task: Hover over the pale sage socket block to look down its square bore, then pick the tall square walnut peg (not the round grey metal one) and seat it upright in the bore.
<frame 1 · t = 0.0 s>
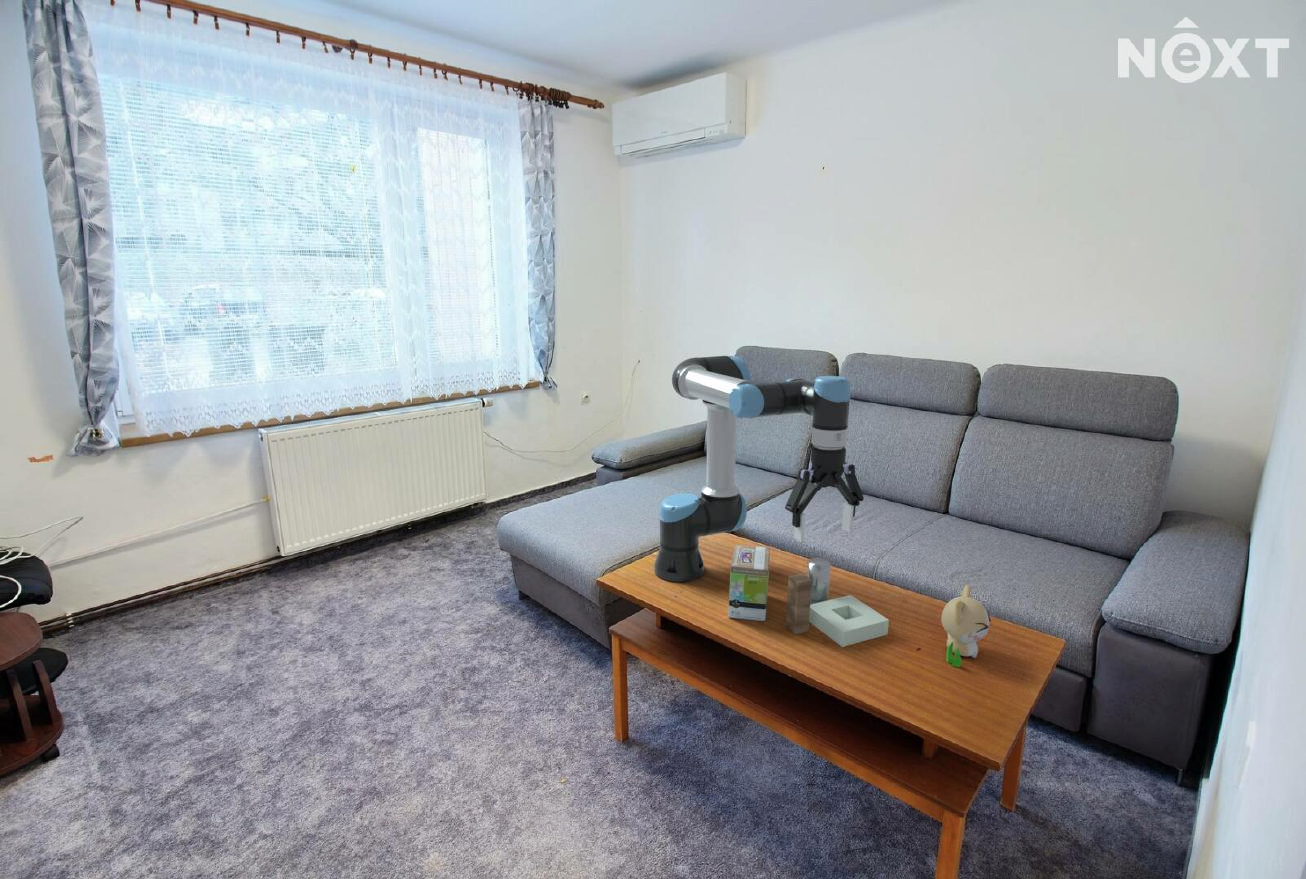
hand: (823, 535, 142), 28 cm above the table, fingers open, 13 cm apart
round peg: (816, 602, 168), on the table
socket block: (846, 626, 156), on the table
square peg: (797, 629, 155), on the table
kitten: (960, 653, 145), on the table
tea box: (748, 606, 167), on the table
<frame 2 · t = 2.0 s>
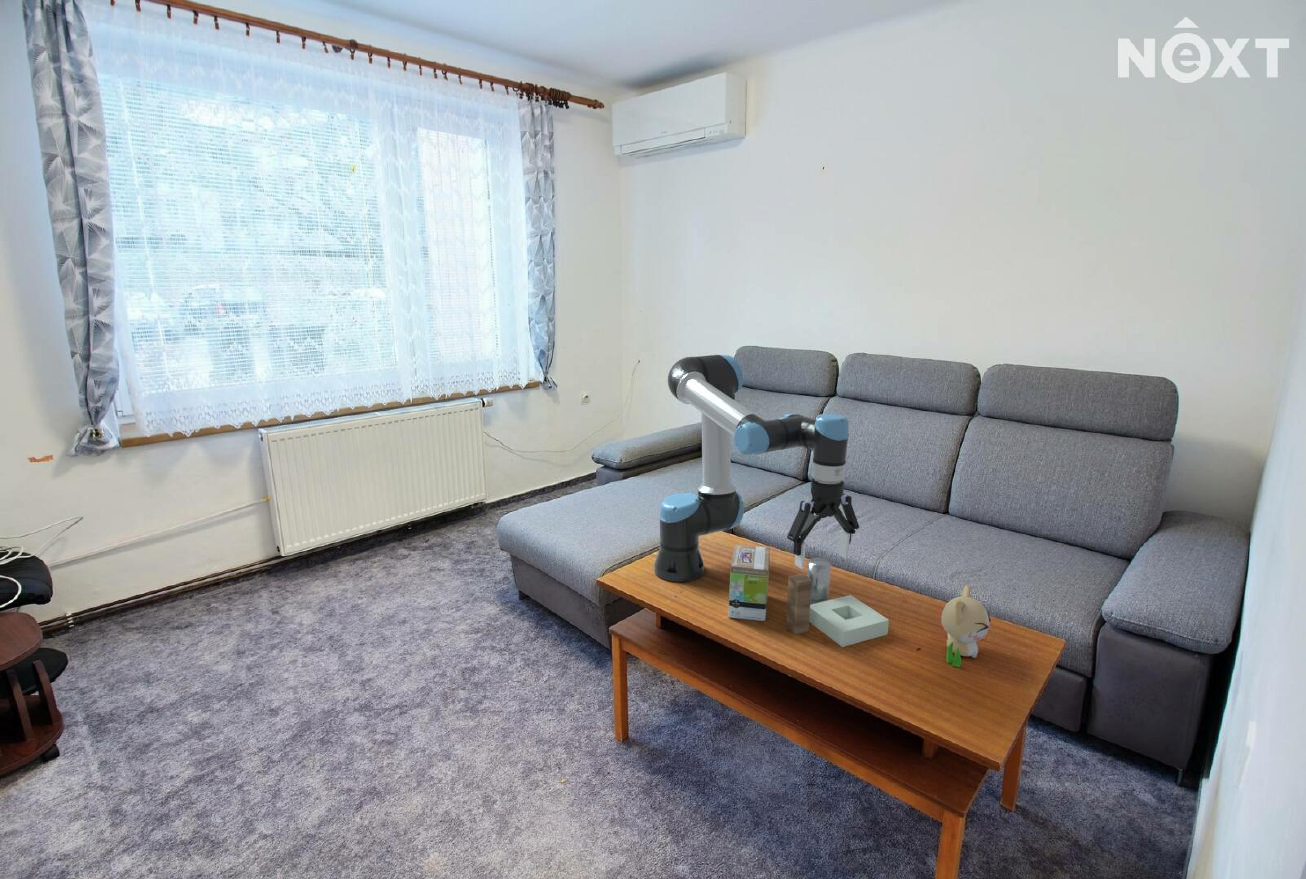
hand: (821, 561, 152), 18 cm above the table, fingers open, 13 cm apart
nothing on the table moved.
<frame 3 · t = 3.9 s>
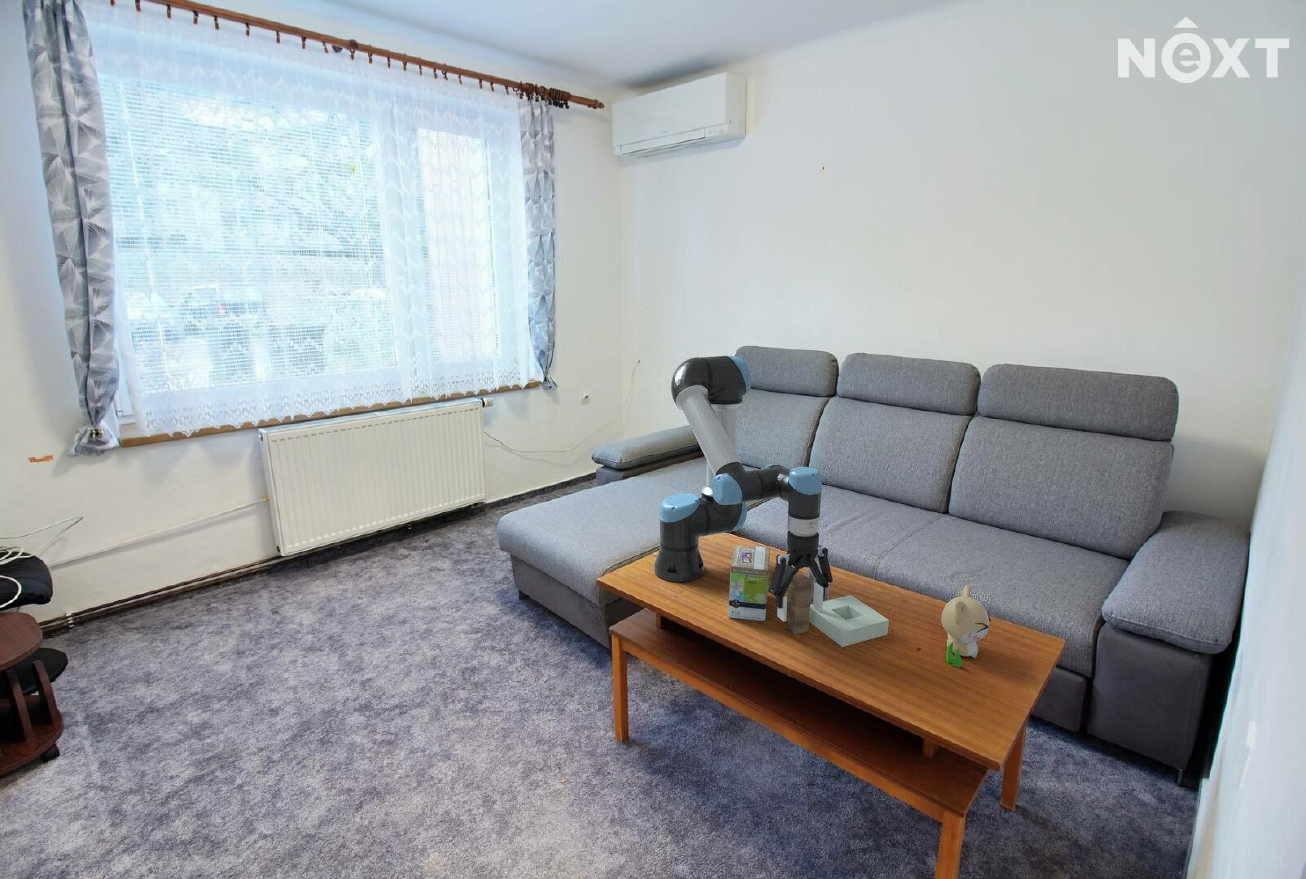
hand: (799, 613, 154), 4 cm above the table, fingers open, 10 cm apart
nothing on the table moved.
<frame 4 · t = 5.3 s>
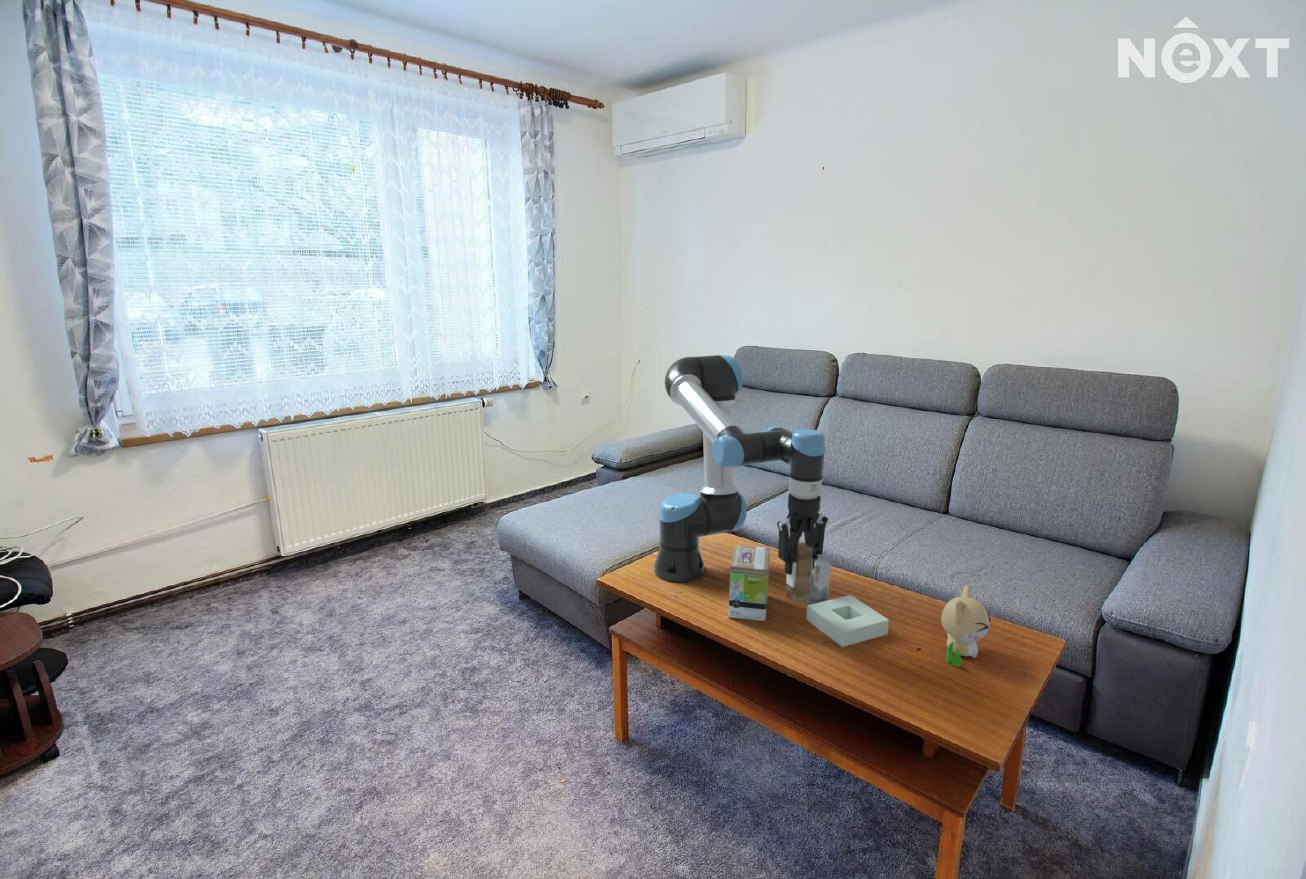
hand: (798, 582, 153), 12 cm above the table, fingers closed on square peg, 4 cm apart
square peg: (797, 598, 154), point 8 cm above the table, touching gripper
everything else where it was.
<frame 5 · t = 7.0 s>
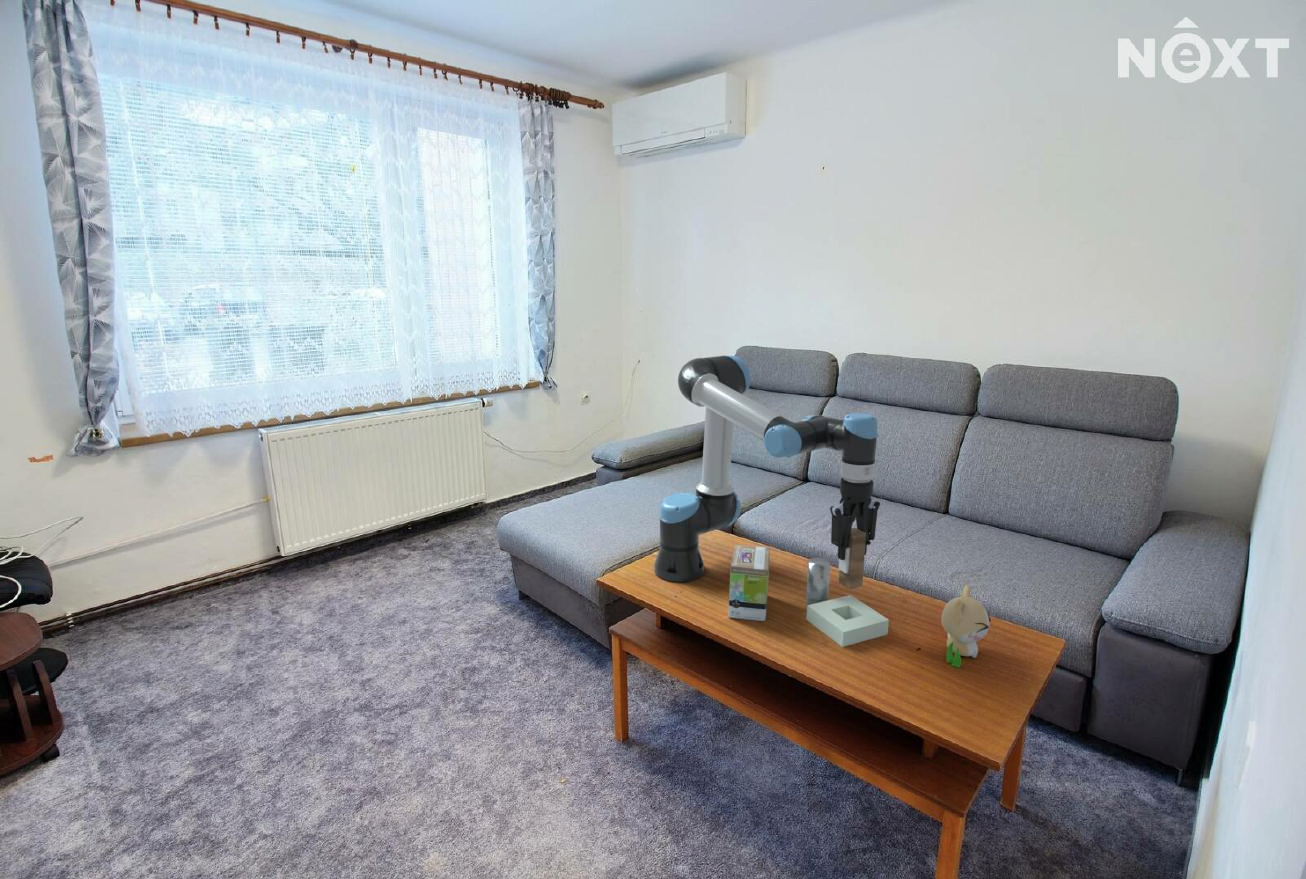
hand: (851, 569, 152), 16 cm above the table, fingers closed on square peg, 4 cm apart
square peg: (850, 584, 153), point 12 cm above the table, touching gripper
everything else where it was.
when the fingers open (5 cm above the table, at t = 8.8 s): square peg drops 1 cm, resting in socket block.
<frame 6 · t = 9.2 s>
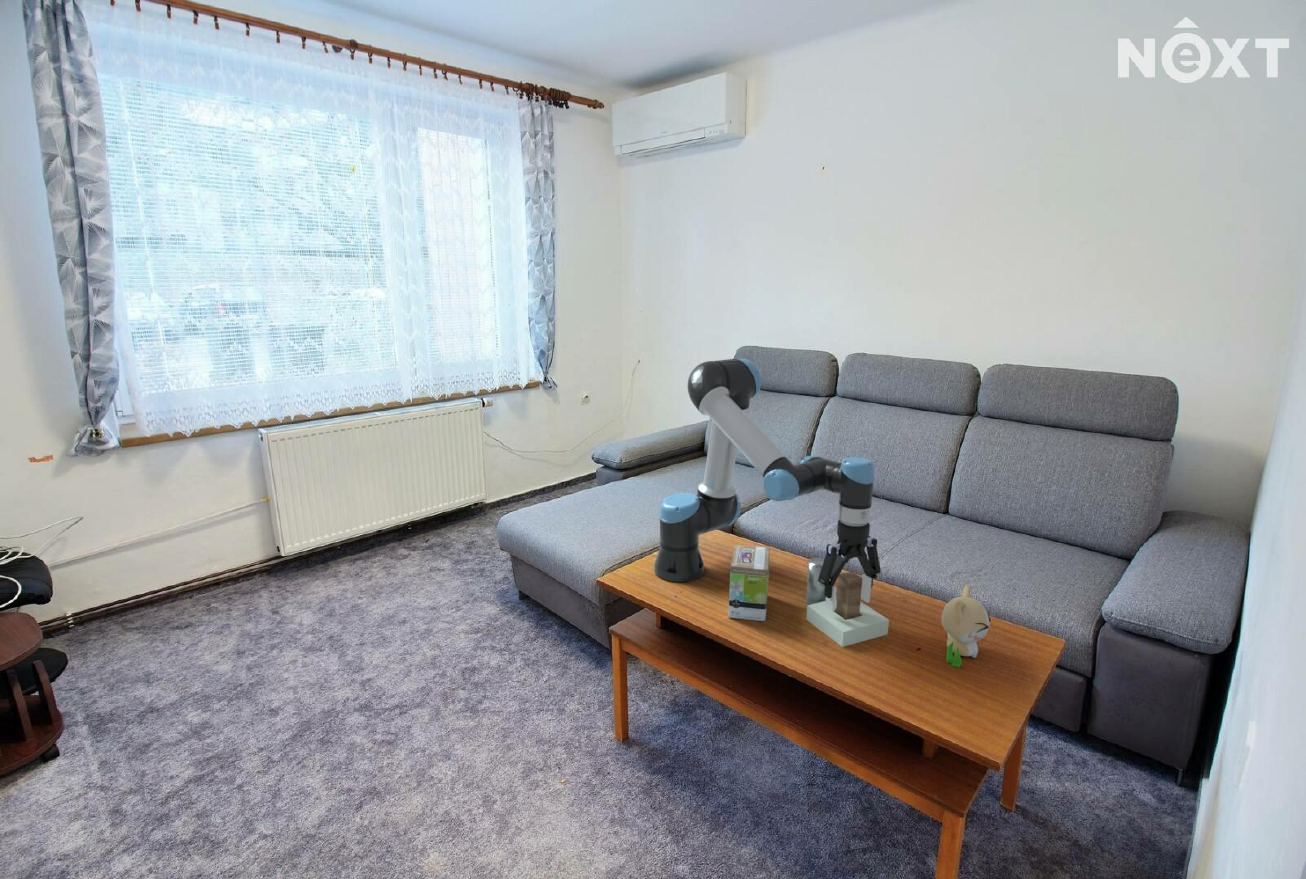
hand: (847, 604, 155), 6 cm above the table, fingers open, 10 cm apart
square peg: (846, 626, 156), resting in socket block
everything else where it was.
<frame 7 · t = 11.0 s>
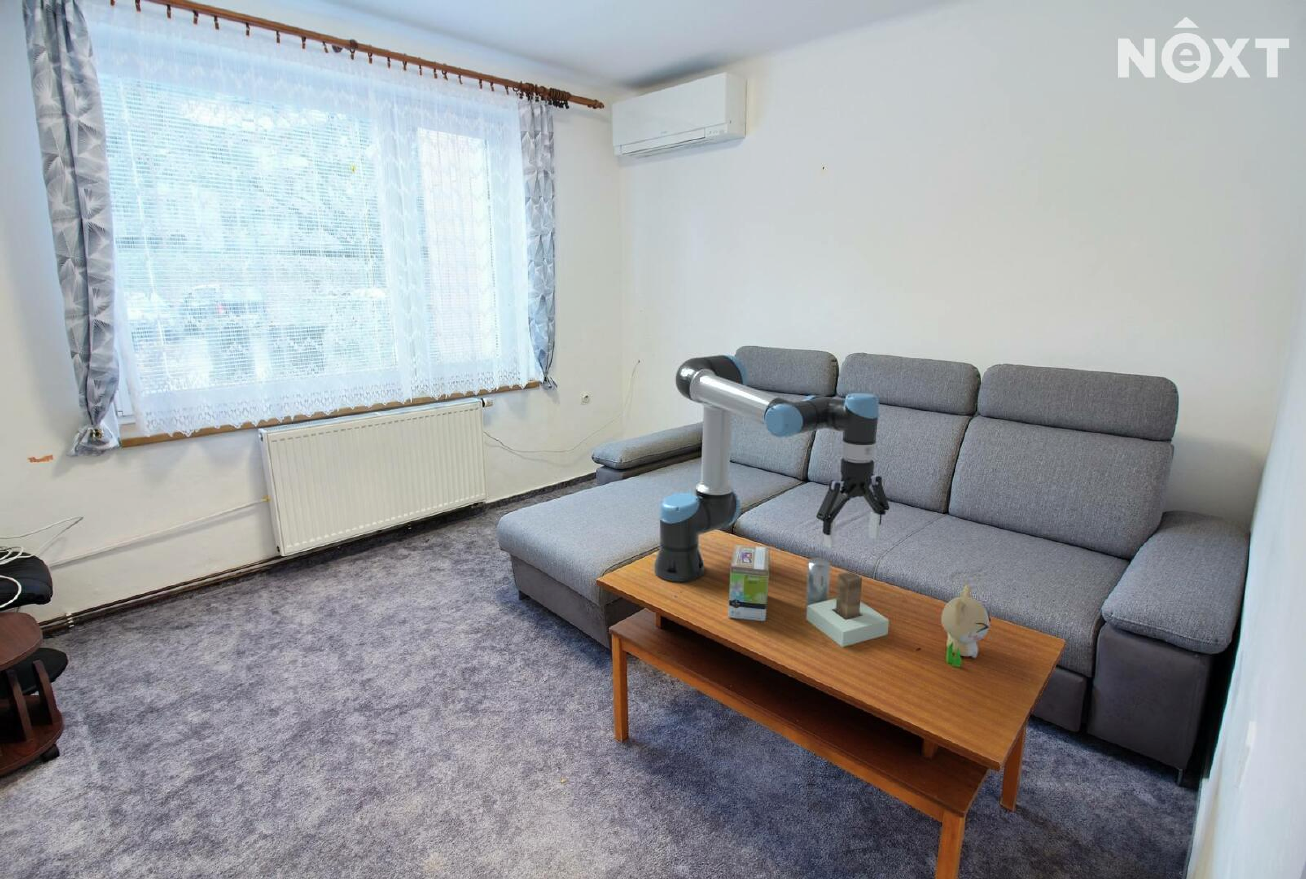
hand: (851, 542, 151), 23 cm above the table, fingers open, 13 cm apart
nothing on the table moved.
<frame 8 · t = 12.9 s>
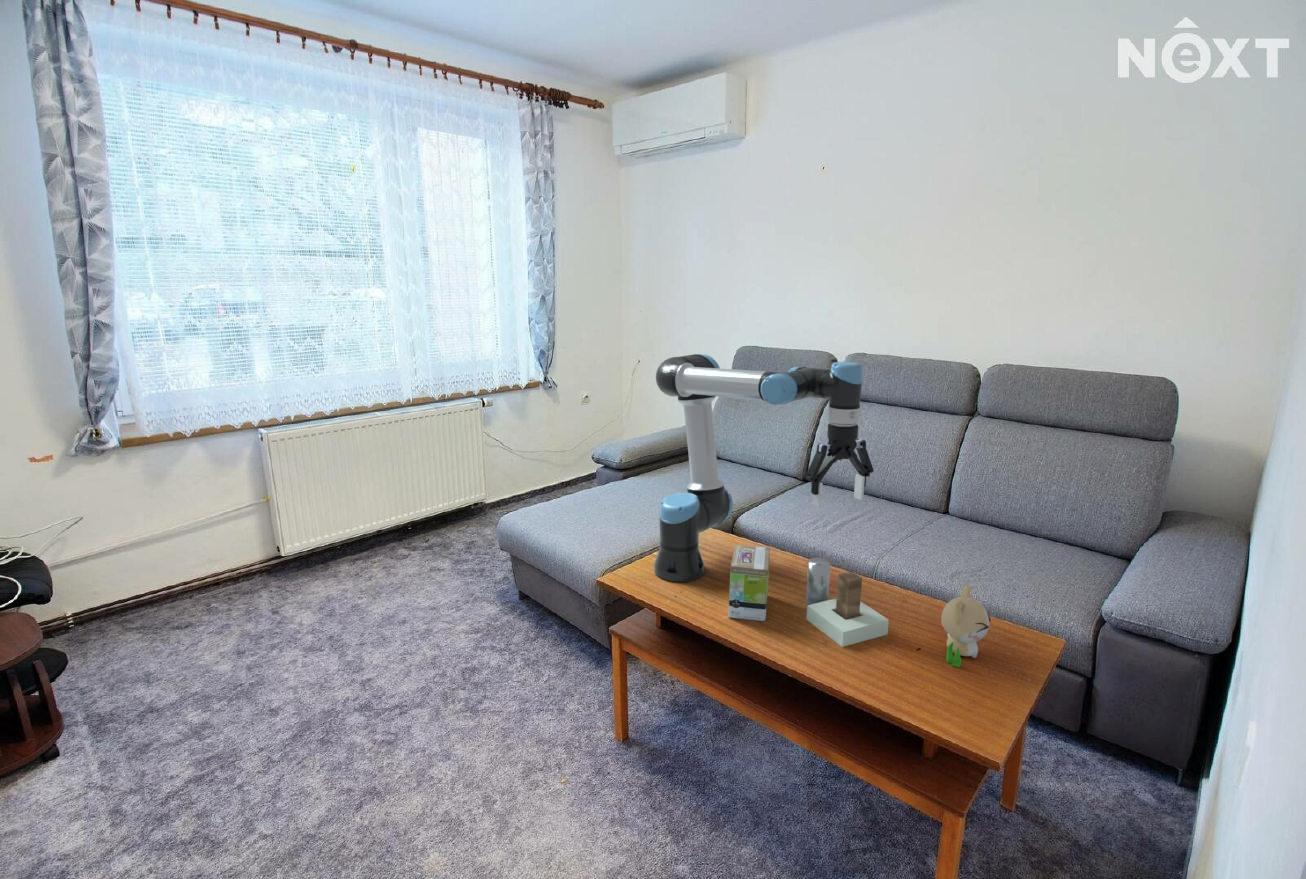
hand: (837, 502, 162), 29 cm above the table, fingers open, 13 cm apart
nothing on the table moved.
at the end: square peg 0.1 cm off-centre on the socket block, point 0.0 cm above the socket block's base; square peg tilted 0°; the gripper is holding nothing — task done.
